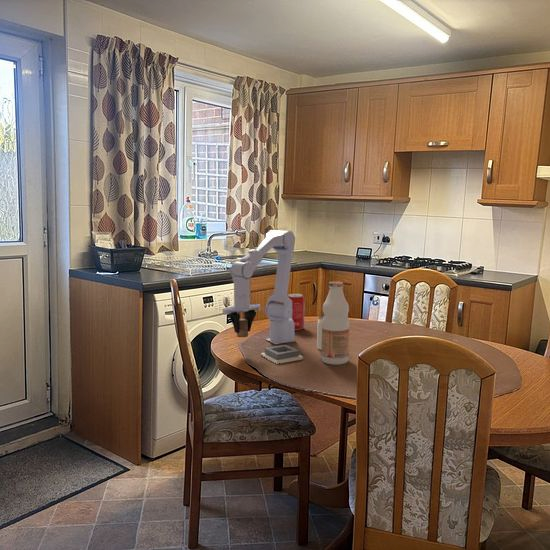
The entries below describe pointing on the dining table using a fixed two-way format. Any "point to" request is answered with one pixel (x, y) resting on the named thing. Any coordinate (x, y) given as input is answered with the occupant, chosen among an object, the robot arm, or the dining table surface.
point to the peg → (243, 328)
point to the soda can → (297, 310)
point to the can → (319, 333)
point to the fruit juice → (335, 326)
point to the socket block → (281, 354)
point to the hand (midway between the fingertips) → (242, 331)
